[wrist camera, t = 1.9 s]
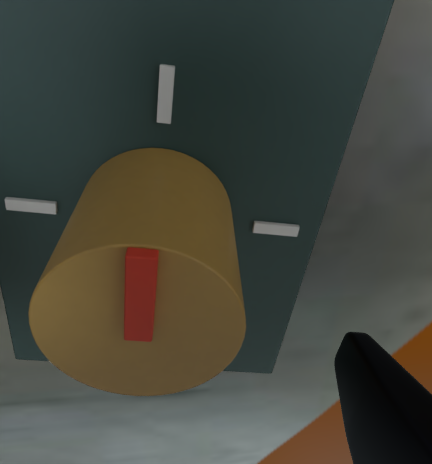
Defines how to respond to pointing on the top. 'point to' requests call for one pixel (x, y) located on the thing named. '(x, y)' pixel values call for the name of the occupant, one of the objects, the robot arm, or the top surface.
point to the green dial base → (182, 126)
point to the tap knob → (143, 279)
